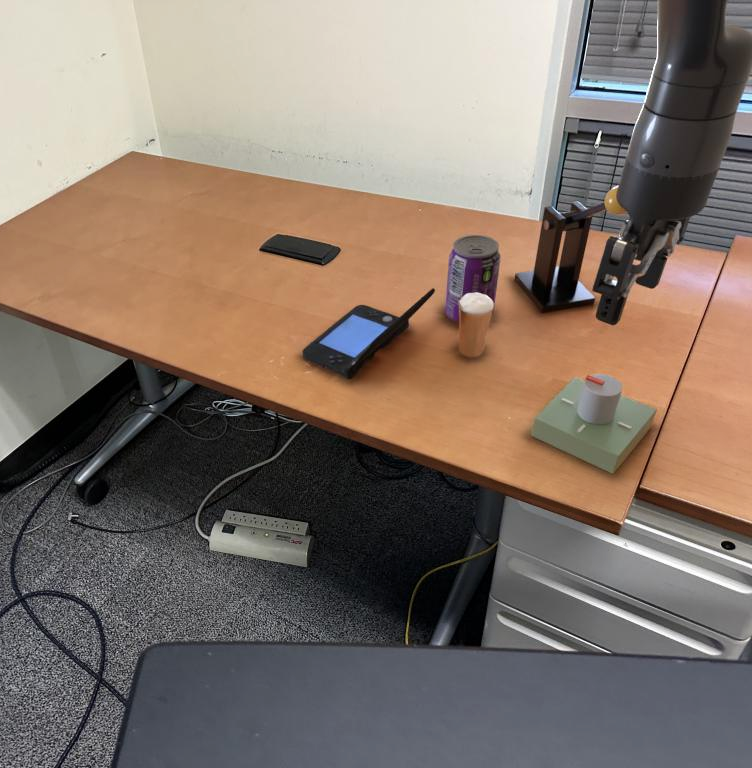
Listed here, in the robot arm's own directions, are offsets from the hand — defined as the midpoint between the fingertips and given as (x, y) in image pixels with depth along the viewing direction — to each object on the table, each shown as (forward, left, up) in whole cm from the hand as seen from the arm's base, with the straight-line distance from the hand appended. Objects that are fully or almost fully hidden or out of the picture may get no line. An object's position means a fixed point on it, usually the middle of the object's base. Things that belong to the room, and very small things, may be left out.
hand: (626, 302), depth 73 cm
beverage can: (+25, -12, -19) cm, 33 cm away
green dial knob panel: (0, +1, -18) cm, 18 cm away
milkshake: (+20, -4, -19) cm, 27 cm away
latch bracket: (+18, -25, -18) cm, 36 cm away
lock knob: (0, +1, -15) cm, 15 cm away
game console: (+32, +4, -19) cm, 37 cm away
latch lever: (+13, -21, -4) cm, 24 cm away
